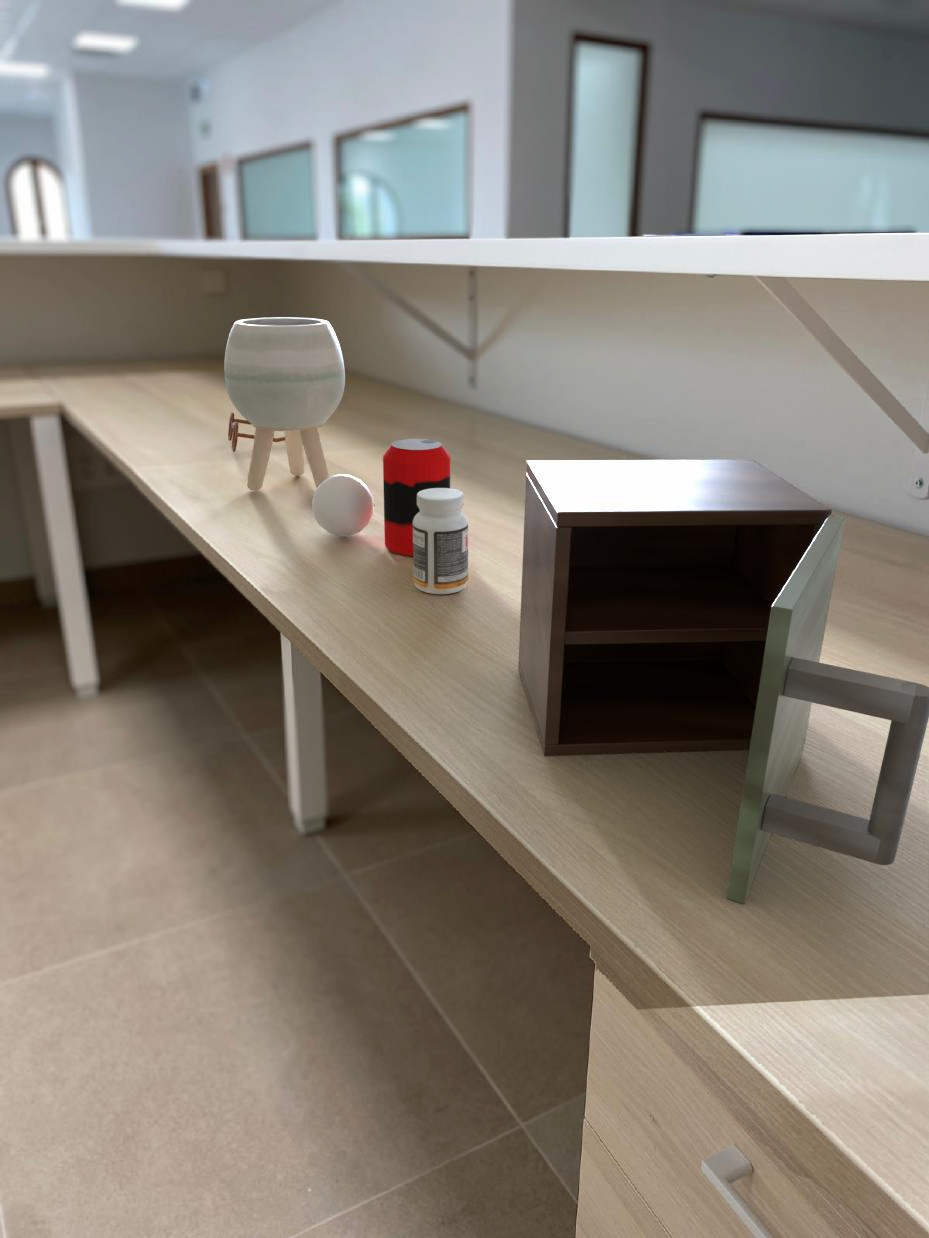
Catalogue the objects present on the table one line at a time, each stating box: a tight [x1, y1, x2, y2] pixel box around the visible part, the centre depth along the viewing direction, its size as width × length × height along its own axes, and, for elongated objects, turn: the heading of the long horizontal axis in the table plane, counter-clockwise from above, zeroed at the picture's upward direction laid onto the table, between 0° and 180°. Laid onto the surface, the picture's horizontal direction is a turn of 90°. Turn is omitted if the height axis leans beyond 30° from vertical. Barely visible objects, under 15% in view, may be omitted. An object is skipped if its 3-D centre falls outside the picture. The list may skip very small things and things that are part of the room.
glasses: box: [227, 411, 286, 453], centre depth 155 cm, size 13×13×5 cm
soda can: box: [382, 438, 451, 557], centre depth 106 cm, size 8×8×12 cm
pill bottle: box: [412, 487, 469, 595], centre depth 94 cm, size 6×6×10 cm
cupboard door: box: [726, 514, 929, 905], centre depth 54 cm, size 8×18×18 cm, turn 152°
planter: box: [223, 316, 346, 492], centre depth 128 cm, size 16×16×22 cm
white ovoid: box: [311, 473, 376, 537], centre depth 112 cm, size 10×7×7 cm
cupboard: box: [517, 459, 833, 757], centre depth 69 cm, size 14×18×18 cm
